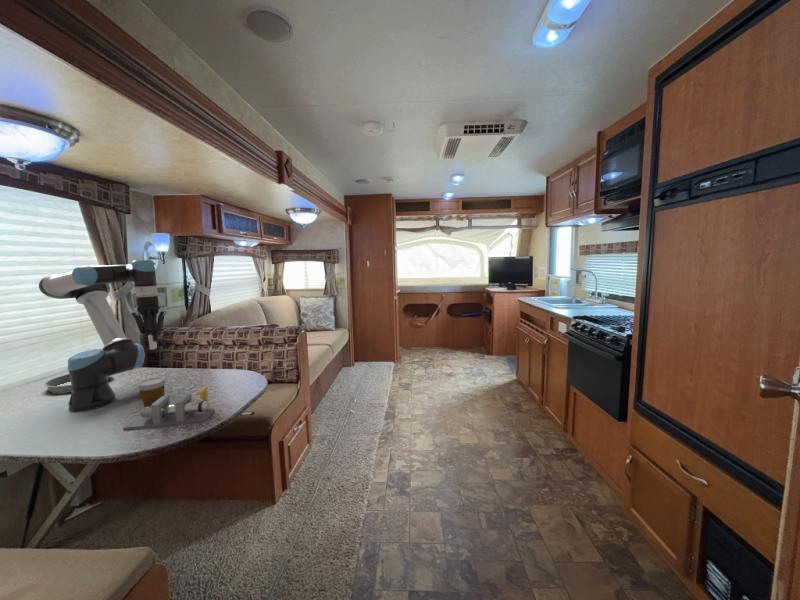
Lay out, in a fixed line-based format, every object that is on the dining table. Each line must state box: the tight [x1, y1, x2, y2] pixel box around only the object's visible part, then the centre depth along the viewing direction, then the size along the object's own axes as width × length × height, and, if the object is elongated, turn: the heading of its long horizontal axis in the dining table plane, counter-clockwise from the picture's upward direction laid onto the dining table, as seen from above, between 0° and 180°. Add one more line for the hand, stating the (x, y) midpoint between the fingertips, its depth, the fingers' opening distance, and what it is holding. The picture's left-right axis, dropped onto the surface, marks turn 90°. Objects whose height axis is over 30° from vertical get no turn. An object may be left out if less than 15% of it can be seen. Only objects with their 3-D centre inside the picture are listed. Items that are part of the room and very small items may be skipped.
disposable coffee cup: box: [137, 377, 166, 407], centre depth 137 cm, size 10×10×12 cm
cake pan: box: [44, 373, 110, 394], centre depth 166 cm, size 25×25×4 cm
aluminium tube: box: [140, 400, 208, 418], centre depth 127 cm, size 22×4×4 cm, turn 101°
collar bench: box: [122, 385, 215, 431], centre depth 127 cm, size 28×9×11 cm, turn 101°
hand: (153, 348), depth 143 cm, fingers closed
